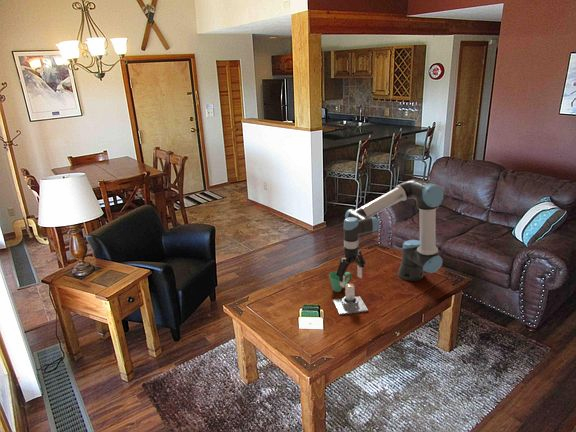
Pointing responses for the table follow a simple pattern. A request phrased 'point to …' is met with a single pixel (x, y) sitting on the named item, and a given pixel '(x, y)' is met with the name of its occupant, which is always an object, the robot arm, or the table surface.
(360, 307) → the duct flange
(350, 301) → the pale grey cylinder
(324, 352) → the table surface
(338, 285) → the mug
